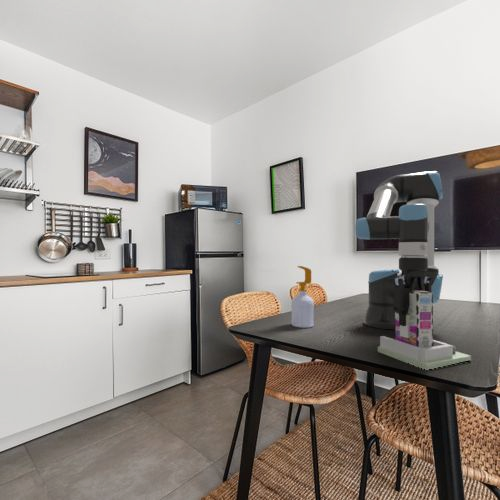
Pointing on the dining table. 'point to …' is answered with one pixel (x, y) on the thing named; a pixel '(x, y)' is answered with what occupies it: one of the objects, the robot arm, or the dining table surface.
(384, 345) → the white open tray
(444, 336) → the dining table surface
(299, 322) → the soap bottle
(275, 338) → the dining table surface
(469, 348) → the dining table surface
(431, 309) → the candy bar box
